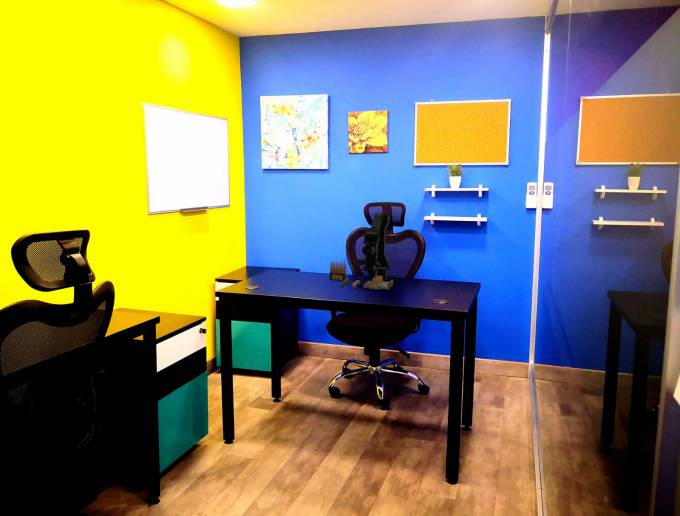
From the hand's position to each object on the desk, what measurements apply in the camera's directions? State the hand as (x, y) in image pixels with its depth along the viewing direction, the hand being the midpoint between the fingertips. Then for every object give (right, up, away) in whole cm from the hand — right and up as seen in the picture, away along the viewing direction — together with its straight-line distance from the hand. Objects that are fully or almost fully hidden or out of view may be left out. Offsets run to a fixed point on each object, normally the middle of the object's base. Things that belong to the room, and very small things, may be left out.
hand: (371, 281), depth 308 cm
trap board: (-2, -3, +1) cm, 4 cm away
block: (+3, -1, -1) cm, 4 cm away
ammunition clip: (-19, -1, +17) cm, 26 cm away
